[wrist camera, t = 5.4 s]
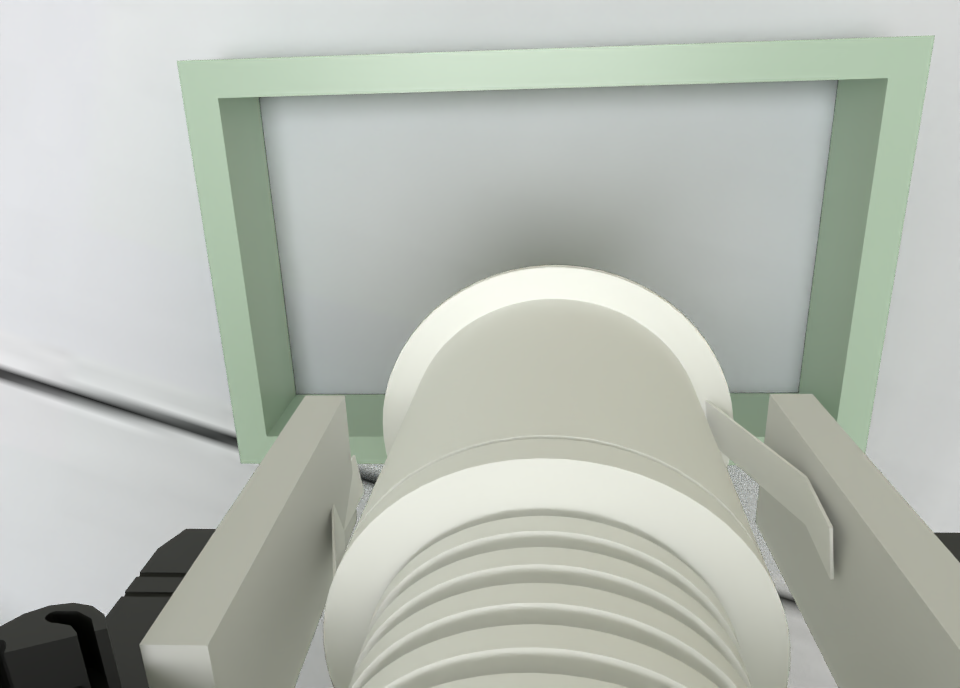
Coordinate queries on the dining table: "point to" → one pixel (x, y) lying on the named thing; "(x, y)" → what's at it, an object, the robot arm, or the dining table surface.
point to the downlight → (561, 504)
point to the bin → (852, 61)
